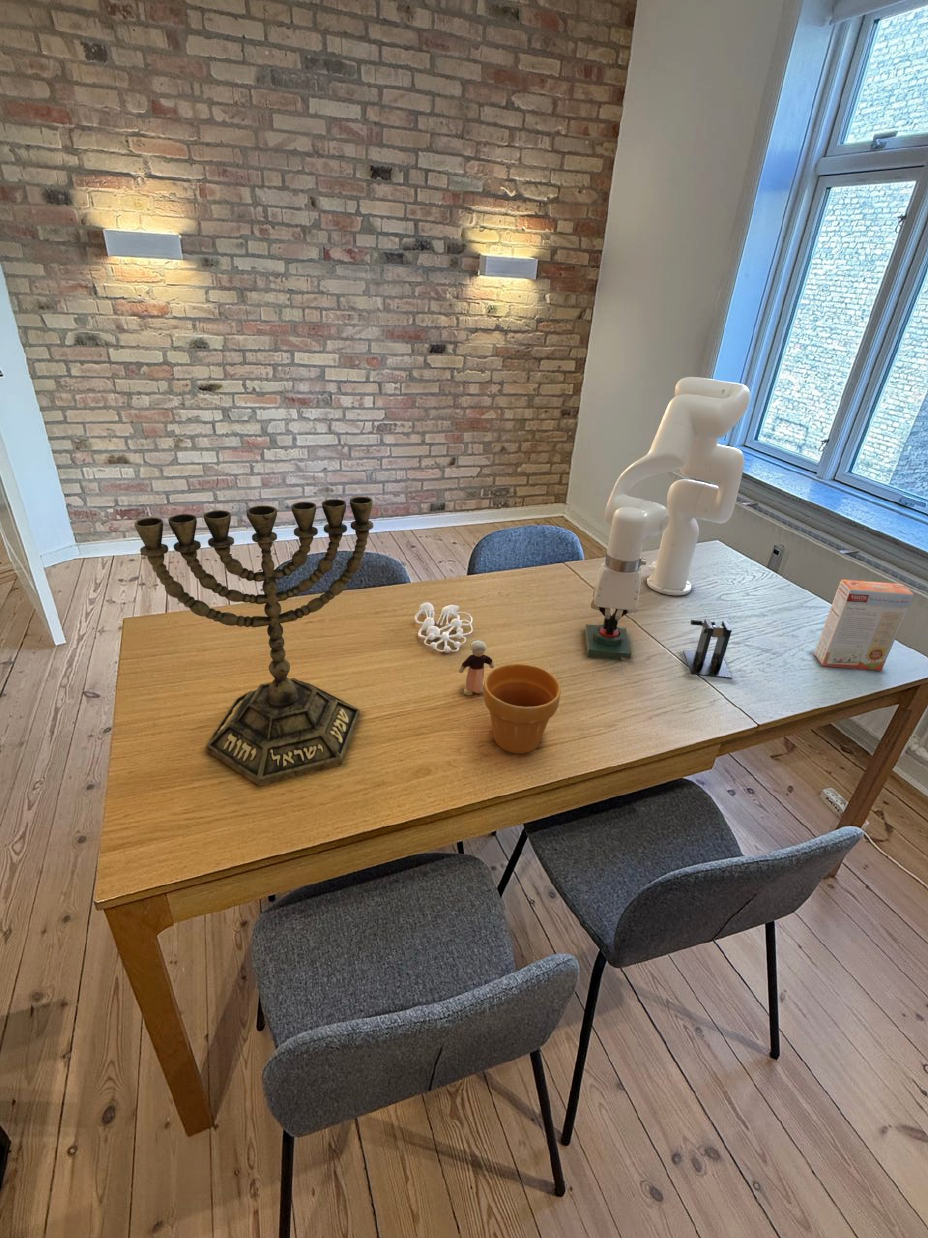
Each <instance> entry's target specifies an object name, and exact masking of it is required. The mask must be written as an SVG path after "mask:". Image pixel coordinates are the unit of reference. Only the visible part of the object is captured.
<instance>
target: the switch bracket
mask: <svg viewBox="0 0 928 1238" xmlns="http://www.w3.org/2000/svg"><path fill="white" fill-rule="evenodd" d="M703 621H704V624H703V626H702V628H701V631H700V635H699V639H698V643H697V647H696V650H695V651H694V650H683V654H684V658H685V660H686V661H685V662H686V663H687V666H688V669H689V671H690V675H692V676H702V677H710V678H719V679H729V680H732V679H733V677H732V674H731V672H730V669H729V667H728V665H727V663H726V662H725V659H724V658H725V655H726V651H727V648H728V644H729V642H730V638H731V636H732V628H731V626H730V624H729V622H728V620H722V622H721V625H720V626H722V627H723V628H724V630H723V636H722V638H716V642H715V646H714V650H713V652H708V649H709V647H710V642H711V639H712V632H713V626H712V624H711V622H710V621H711V620H710V619H709V618H704V620H703Z"/></svg>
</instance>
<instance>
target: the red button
mask: <svg viewBox="0 0 928 1238" xmlns="http://www.w3.org/2000/svg"><path fill="white" fill-rule="evenodd" d="M599 633H600V634H601V635H602V636H605V637H609V638H615V637H618V635H619V631H618V630H617V629H616V630H614V632H613V635H612V634H610V633H609V634H606V629H603V627H602V628H600V631H599Z"/></svg>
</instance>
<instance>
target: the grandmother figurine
mask: <svg viewBox="0 0 928 1238" xmlns="http://www.w3.org/2000/svg"><path fill="white" fill-rule="evenodd" d="M487 649H488V647H487V644H486V643H485V642H484V641H482V640H480V639H477V640H473V641H472V643H471V644H470V650H471V653H472V654H470V655H468V656H467V658H466V659H465V660H464V661H463V662H462V663H461V665H460V668H459V669H458V672H459V673H460V674H462V673H464V671H465V670H466V668H468V669H467V674H466V678H465V686H464V689H463V695H464V696H470V697H471V696H472V695H474V694H477V695H483V694H484V688H483V686H484V680H485V678H484V677H485V664H486V665H488V667H489V668H490V669H495V664H494V662H493V659H492V658H491V657H490V656H489V655H486V654H485V651H487Z"/></svg>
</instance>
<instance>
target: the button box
mask: <svg viewBox="0 0 928 1238" xmlns="http://www.w3.org/2000/svg"><path fill="white" fill-rule="evenodd" d="M603 624H604V623H601V624H585V626H584V627H585V628H584V638H585V647H586V657H587V658H593V659H603V660H611V661H612V660H613V661H622V658H624V659H631V657H632V650H631V649H632V648H631V644H630V641H629V636H628V632H627V627H619V626H617V630H618V631H619V635H618V637H615V638H609V637H605V636H602V635H601V634H600V633H599V631H600V628H602V627H603Z"/></svg>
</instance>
